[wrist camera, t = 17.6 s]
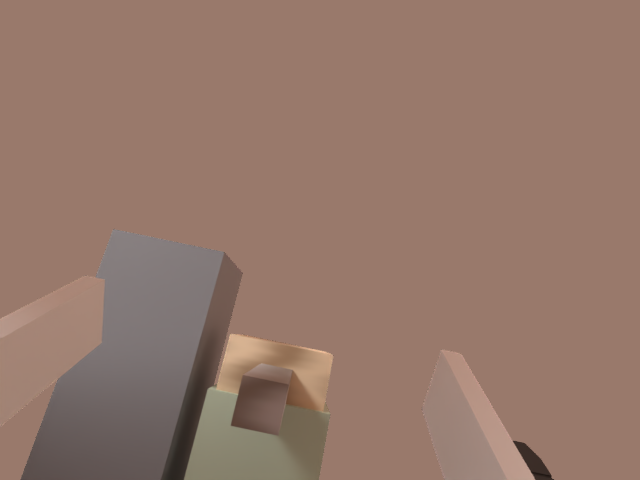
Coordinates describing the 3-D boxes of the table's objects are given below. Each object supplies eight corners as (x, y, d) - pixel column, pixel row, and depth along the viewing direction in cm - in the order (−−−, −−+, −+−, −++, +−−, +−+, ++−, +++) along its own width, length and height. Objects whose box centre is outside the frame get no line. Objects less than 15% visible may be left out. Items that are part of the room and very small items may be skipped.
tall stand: (-68, 718, 21) (113, 229, 29) (44, 602, 30) (158, 255, 38) (85, 750, 21) (224, 252, 29) (151, 624, 30) (242, 272, 38)
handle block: (174, 414, 18) (197, 331, 19) (233, 379, 33) (244, 334, 34) (334, 447, 18) (348, 363, 19) (318, 396, 33) (327, 352, 34)
